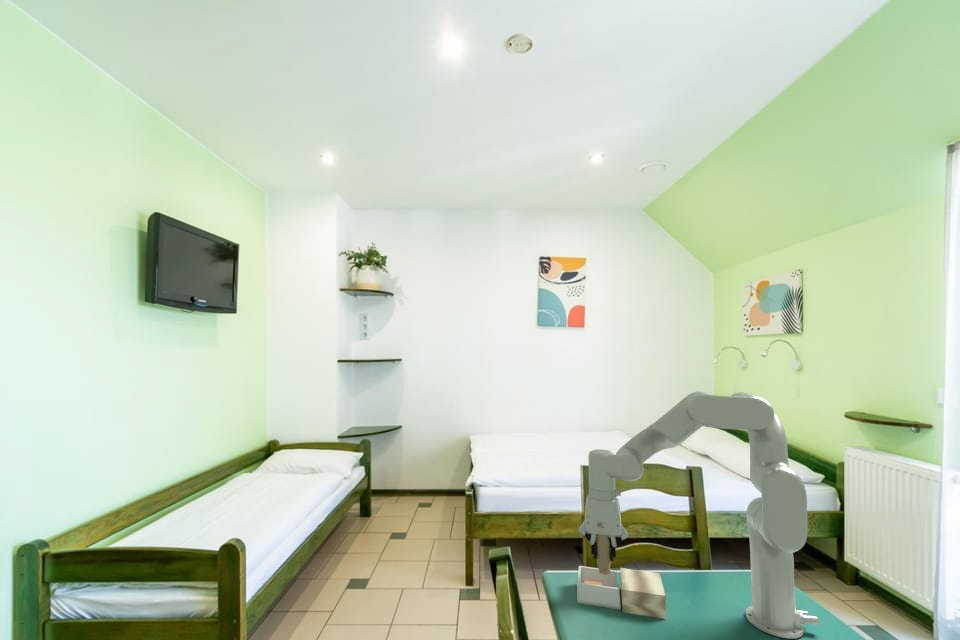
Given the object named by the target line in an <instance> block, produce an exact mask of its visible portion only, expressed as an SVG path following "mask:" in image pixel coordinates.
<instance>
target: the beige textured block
mask: <svg viewBox="0 0 960 640" xmlns="http://www.w3.org/2000/svg"><path fill="white" fill-rule="evenodd" d="M619 571H620V573H619V574H620V600H621V608H622V609H621V610H622V613H625V614H626V613H627V614H631V615H638V616H645V617H650V618H656V619H657V618H658V619H661V620H662V619H663V620H666V619H667V603H666V598H667V597H666V593H665V588H664V585H663V580H662V577H661V573H659V572H653V571H652V572H651V571H647V570H638V569H631V568H623V567H620V570H619Z"/></svg>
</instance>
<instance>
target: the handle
mask: <svg viewBox="0 0 960 640" xmlns="http://www.w3.org/2000/svg"><path fill="white" fill-rule="evenodd" d="M597 527H600V528H604V527H602V522H597ZM595 540H596V554H597V558H596V561H597V566H598V567H597V568H598V569H599V573H600V574H604V575H607V574H610V570H611V565H612V564H611V563H612V561H611V552H610V536H606V535H597V534H596V537H595Z"/></svg>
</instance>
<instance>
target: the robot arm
mask: <svg viewBox="0 0 960 640" xmlns="http://www.w3.org/2000/svg"><path fill="white" fill-rule="evenodd" d="M702 427H706V428H714V429H722V430H723V429H724V430H725V429H726V430H729V429H730V430H744V431H746V432H747V435H748V442H749V478H750V482H751V484H752V485H753V487H754V488H755V489H756V490H757V491H758V492H759V493H760V494H761V496H760V497H756V498H754V499H752V500H751V501H750V502H749V504H748V505H747V508H746V523H747V530H748V536H749V537H748V538H749V551H750V554H749V555H750V557H749V558H750V581H751V582H750V583H751V584H750V585H751V605H750V606H748V607H746V608H745V617H746V619H747V620H748V621H749V623H750V624H751V625H752V626H754V627H755V628H757V630H760V631H762V632H764V633H766V634H769V635H771V636H774V637H777V638H783V639H790V640H791V639H798V638H801V637H802V636H803V635H805V634H804V633H805V628H804V627H805V626H804V625H805V624H808V625H813V626H819V625H820V622H819V621H820V620H819V618H818V617H817V616H815V615H810V614H809V612H808V611H807V610H799V609H797V608H796V589H795V562H794V561H795V560H794V553H795V552H798V551H800V550H801V549H802V548H803V547H804V546H805V544H806V542H807V538H808V495H807V491H806V490H807V489H806V486H805V482H804V481H803V479H802V478H801V476H800V475H799V474H798V473H797V471H796V472H795V471H794V470H793V469H792V468H791V467H790V464H789V453H788V442H787V435H786V432H785V428H784V426H783V424H782V422H781V420H780V418H779V417H778V416H777V414H776V413H775V409H774V407H773V406H772V404H771V403H770V402H769V401H768V400H766V399H765V398H763V397H761V396H757V395H754V394H752V393H748V392H741V391H740V392H735V393H733V394H731V395H719V394H718V395H716V394H709V393H706V392H703V391H693V392H690V393H689V394H687V395H685V397H683V398H682V399H681V400H680V401H678V403H677V404H675V405H674V406H673V407H672V408H670V409H669V410H668V411H667V412H666V413H665V414H663V415H662V416H661V417H659V418H658V419H657V420H656V421H654V422H653V423H652V424H650V425H648V426H647V427H646V428H645V429H644V428H643V430H641V431H639V433H637V434H635V435H633V436H632V438H631V439H629V440H628V441H627V442H626V443H624V445H622V446H621V447H620V448H619V449H618V450H617V451H616V454H614V452H613V451H611V450H607V449H599V448H597V449H592V450H590V451H589V453H588V495H587V496H586V499H585V500H586V501H585V505H584V512H585V513H584V520H583V522H582V523H581V525H580V526H579V528H578V532H579V533H580V534H581V535H582V536H584V538H586V540H588V541H589V543H590V547H591V550H590V551H591V555H593V559H594V560H597V554H596V534H597V535H606V536H609V538H610V540H611V542H609V544H610V553H611V562H614V558H616V557H617V555H616V554H617V552H616V551H617V550H616V547H617V546H618V545H619V544H620V543H622V541H624V540H625V539H627V538H629V533H628V531H627V530H626V529H625V526H623V524H622V517H621V507H620V506H621V505H620V501H619V498H618V497H621V496H622V492H621V490H617V488H616V479H618V480H621V481H624V482H625V481H626V482H636V481H638V480H640V479H641V478H642V477H643V475H644V471H645V470H644V469H645V468H644V463H645V462H646V461H647V460H649V459H650V458H651V457H653V456H654V455H656V454H658V453H659V452H660V451H663V450H667V449H674V448H676V447H679V446H680V445H681V444H683V443H684V442H685V441H686V440H687V439H689V438H690V437H691V436H692V435H694V434H695V433H696V432H697V431H699V430H700V429H701V428H702ZM597 522H602V527H604V528H600V527H597Z"/></svg>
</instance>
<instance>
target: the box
mask: <svg viewBox="0 0 960 640" xmlns="http://www.w3.org/2000/svg"><path fill="white" fill-rule="evenodd" d="M617 572H618V571H617V570H612V569H610V574H607V575H604V574H600V573H599V569H598V567H591V566H583V565H579V566H578V571H577V581H576V597H577V598H576V600H577V601H576V603H577V604H582V605H589V606H595V607H600V608H601V607H602V608H606V609H613V610H620V611H621V591H620V584H618V573H617ZM584 580H586V581H594V582H601V583H602V586H601V585H594V584H587V583H584Z"/></svg>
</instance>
